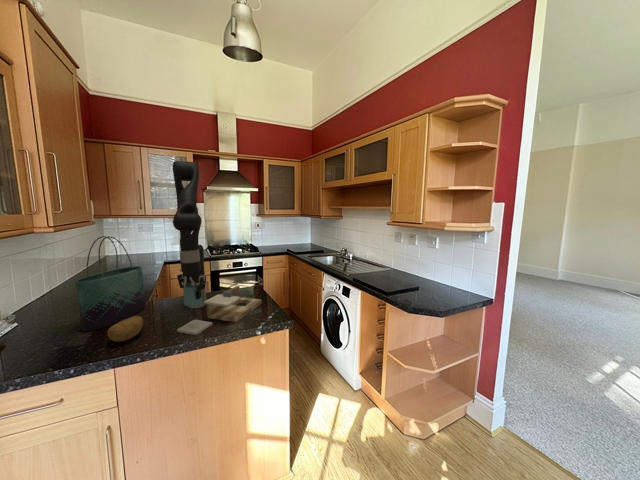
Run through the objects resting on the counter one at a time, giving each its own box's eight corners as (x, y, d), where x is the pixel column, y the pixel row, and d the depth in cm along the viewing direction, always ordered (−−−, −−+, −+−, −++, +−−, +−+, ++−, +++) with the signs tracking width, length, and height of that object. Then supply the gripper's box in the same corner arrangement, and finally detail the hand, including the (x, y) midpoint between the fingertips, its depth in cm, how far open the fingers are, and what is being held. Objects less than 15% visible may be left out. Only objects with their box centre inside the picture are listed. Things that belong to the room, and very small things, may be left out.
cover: (203, 303, 118) (203, 296, 118) (218, 296, 128) (217, 289, 127) (227, 306, 114) (227, 299, 114) (240, 299, 124) (240, 292, 123)
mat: (177, 331, 110) (177, 329, 110) (194, 321, 119) (194, 319, 119) (196, 335, 107) (195, 332, 107) (212, 324, 116) (212, 322, 116)
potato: (152, 330, 111) (150, 312, 110) (124, 348, 97) (122, 328, 96) (131, 329, 112) (129, 312, 111) (101, 346, 98) (98, 327, 97)
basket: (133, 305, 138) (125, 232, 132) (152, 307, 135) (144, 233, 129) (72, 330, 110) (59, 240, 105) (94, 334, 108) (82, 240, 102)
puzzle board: (207, 317, 123) (206, 301, 122) (237, 300, 146) (236, 285, 145) (235, 322, 118) (235, 305, 117) (261, 303, 141) (261, 288, 140)
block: (193, 300, 114) (191, 283, 113) (202, 302, 113) (201, 284, 112) (184, 305, 110) (182, 287, 108) (193, 306, 108) (192, 288, 107)
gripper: (210, 259, 110) (212, 297, 112) (184, 257, 114) (186, 293, 117) (197, 263, 103) (200, 303, 105) (169, 261, 107) (173, 299, 109)
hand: (193, 298), depth 111 cm, fingers closed on block, 5 cm apart
